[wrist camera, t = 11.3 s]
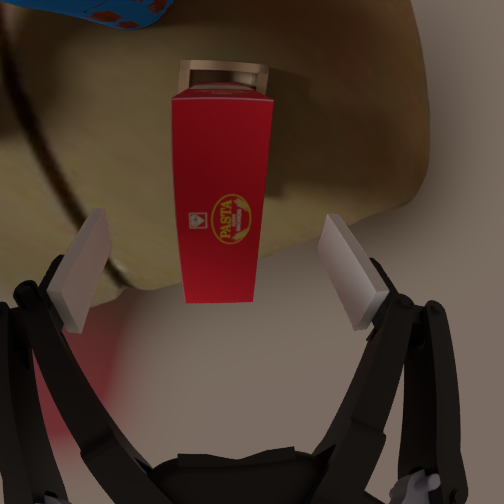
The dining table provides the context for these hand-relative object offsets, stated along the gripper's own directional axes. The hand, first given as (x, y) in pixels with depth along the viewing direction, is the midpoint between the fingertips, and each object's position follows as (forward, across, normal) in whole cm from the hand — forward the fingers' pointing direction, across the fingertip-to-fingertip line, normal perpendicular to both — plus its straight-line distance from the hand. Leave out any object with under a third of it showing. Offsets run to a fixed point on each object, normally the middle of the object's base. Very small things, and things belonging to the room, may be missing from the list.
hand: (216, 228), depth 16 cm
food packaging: (+26, 0, 0) cm, 26 cm away
